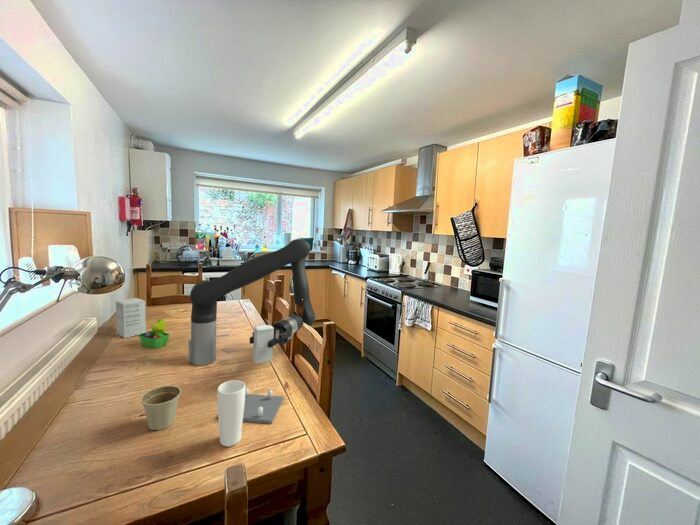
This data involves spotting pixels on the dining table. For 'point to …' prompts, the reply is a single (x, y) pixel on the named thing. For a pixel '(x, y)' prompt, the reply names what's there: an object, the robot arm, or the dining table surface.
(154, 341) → the fruit basket
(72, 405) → the dining table surface
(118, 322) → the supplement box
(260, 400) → the pin tray
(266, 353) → the skincare box
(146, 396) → the flower pot
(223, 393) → the drinking glass
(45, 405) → the dining table surface
